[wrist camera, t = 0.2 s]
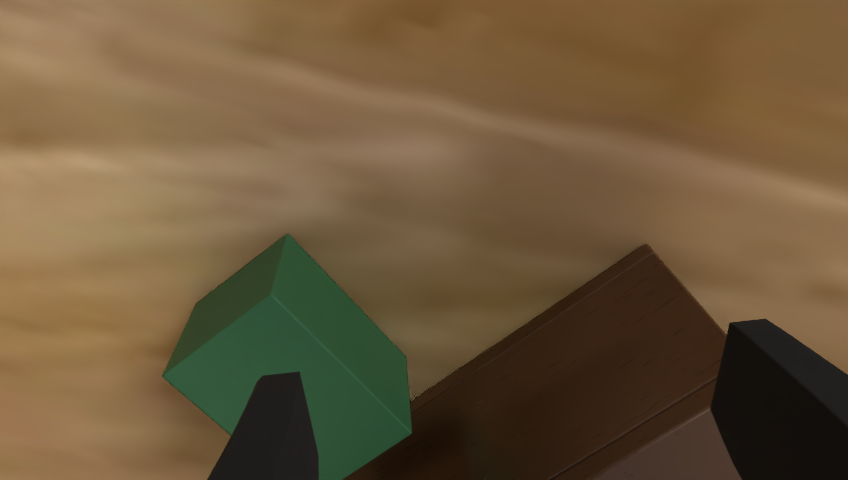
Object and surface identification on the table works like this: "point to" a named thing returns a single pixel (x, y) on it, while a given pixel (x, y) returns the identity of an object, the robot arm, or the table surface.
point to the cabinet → (580, 393)
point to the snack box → (296, 357)
